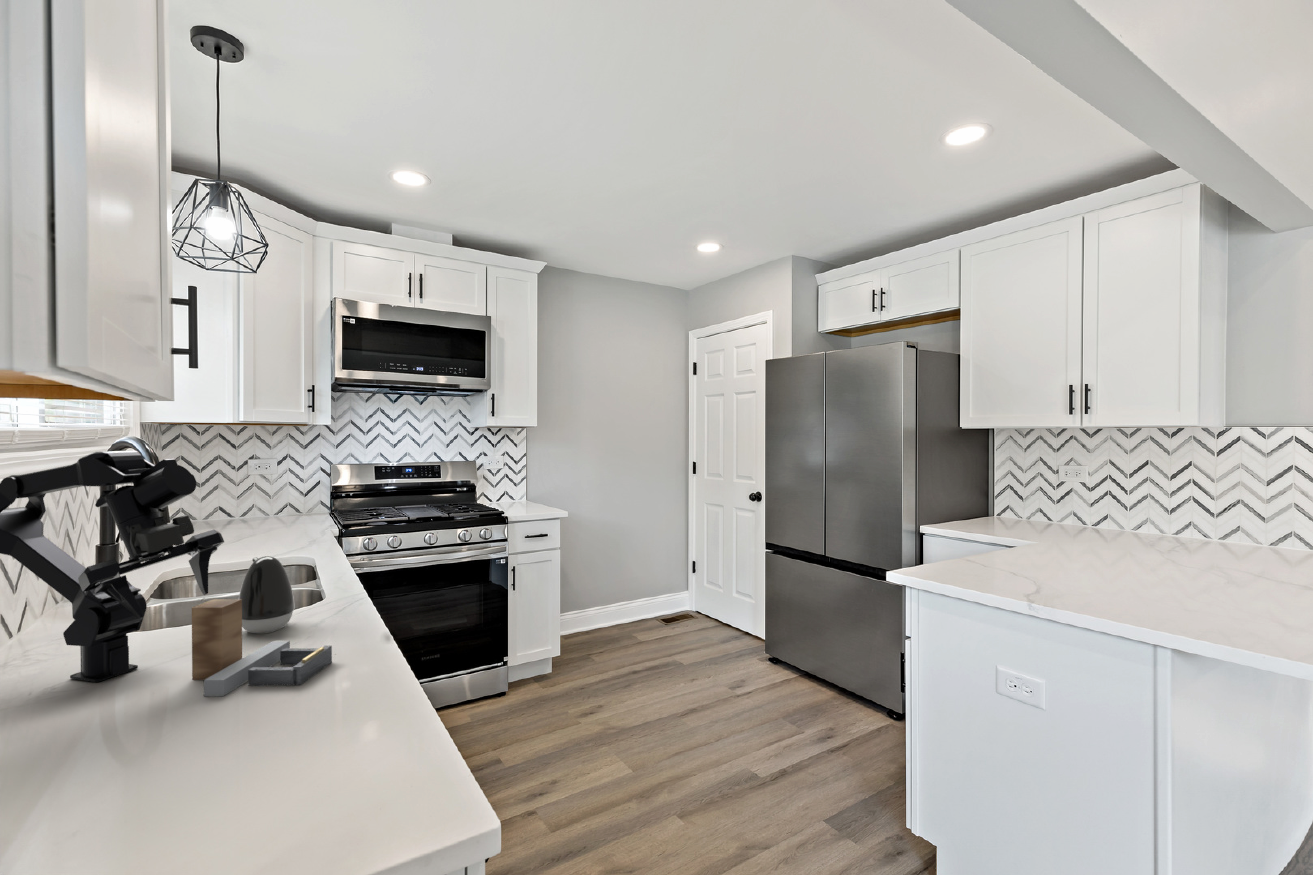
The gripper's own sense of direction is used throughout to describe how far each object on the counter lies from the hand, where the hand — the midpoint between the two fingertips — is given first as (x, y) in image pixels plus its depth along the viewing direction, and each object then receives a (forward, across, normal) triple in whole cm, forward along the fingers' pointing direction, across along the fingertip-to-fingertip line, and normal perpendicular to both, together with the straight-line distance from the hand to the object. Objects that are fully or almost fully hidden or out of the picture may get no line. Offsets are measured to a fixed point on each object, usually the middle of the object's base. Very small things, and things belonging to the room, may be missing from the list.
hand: (175, 605), depth 104 cm
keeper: (+18, +8, -7) cm, 21 cm away
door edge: (+16, +5, -2) cm, 17 cm away
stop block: (+13, +2, +2) cm, 14 cm away
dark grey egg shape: (+9, +18, +19) cm, 28 cm away
